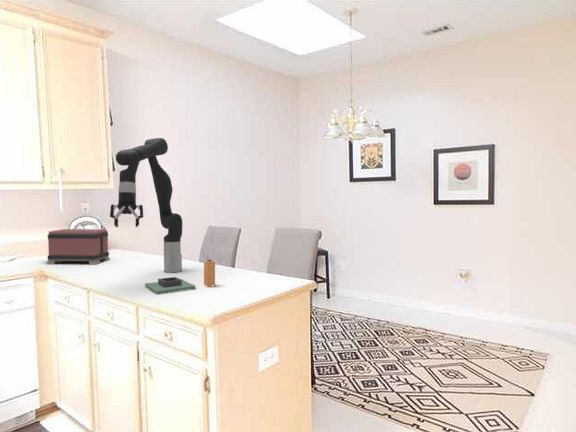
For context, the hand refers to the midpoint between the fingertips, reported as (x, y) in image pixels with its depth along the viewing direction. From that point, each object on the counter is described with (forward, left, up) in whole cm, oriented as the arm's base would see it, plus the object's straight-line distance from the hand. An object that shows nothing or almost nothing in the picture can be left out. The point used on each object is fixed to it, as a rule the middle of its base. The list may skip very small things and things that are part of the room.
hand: (126, 227), depth 186 cm
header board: (-10, +17, -29) cm, 35 cm away
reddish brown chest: (-38, -84, -29) cm, 97 cm away
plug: (-22, +31, -29) cm, 47 cm away
